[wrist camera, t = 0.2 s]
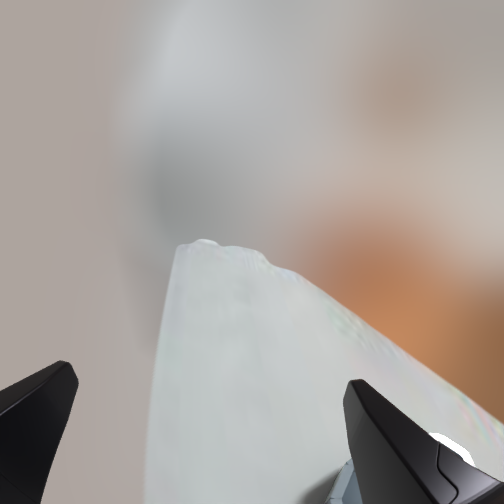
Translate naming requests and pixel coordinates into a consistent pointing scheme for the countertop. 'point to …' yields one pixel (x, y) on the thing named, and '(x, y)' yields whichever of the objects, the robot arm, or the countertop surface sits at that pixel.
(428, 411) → the countertop surface
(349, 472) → the bowl
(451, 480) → the robot arm
